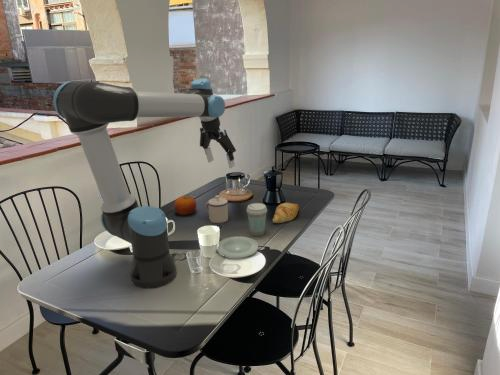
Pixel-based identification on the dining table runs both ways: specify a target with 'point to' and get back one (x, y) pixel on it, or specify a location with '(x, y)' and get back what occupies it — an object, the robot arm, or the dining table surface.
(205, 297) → the dining table surface
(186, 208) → the fruit
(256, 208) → the coffee cup
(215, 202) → the teacup with lid
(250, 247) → the saucer
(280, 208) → the croissant
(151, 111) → the robot arm
